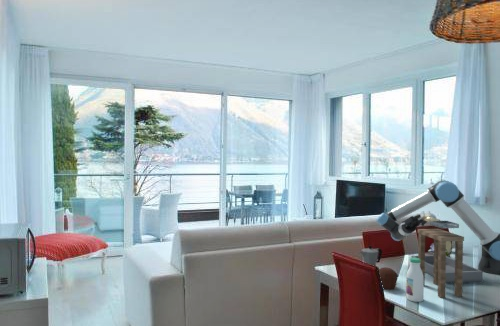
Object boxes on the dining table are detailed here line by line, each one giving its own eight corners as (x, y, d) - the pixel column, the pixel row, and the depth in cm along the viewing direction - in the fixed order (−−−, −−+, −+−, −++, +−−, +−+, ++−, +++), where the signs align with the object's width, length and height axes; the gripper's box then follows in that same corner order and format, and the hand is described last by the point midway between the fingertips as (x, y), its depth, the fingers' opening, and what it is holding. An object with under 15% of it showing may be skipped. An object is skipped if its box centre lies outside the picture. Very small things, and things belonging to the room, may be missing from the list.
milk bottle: (422, 297, 190) (423, 257, 190) (424, 303, 183) (424, 261, 183) (405, 295, 193) (406, 255, 192) (406, 301, 186) (407, 259, 185)
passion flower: (436, 264, 266) (425, 250, 267) (436, 258, 275) (426, 244, 277) (451, 257, 261) (440, 242, 262) (451, 251, 270) (440, 236, 271)
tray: (411, 265, 245) (411, 255, 245) (443, 264, 248) (443, 254, 248) (445, 283, 211) (445, 272, 210) (482, 282, 213) (482, 271, 213)
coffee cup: (454, 253, 276) (454, 236, 275) (440, 252, 277) (440, 236, 277) (450, 250, 285) (450, 233, 284) (436, 249, 287) (436, 233, 286)
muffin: (370, 284, 209) (370, 266, 209) (387, 282, 213) (387, 264, 212) (385, 292, 198) (385, 272, 197) (402, 289, 202) (403, 270, 201)
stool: (417, 283, 210) (417, 229, 210) (437, 283, 212) (438, 228, 211) (440, 298, 189) (441, 237, 189) (463, 297, 191) (464, 236, 190)
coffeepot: (365, 280, 216) (366, 248, 216) (355, 275, 225) (355, 244, 225) (387, 276, 222) (387, 245, 222) (376, 272, 231) (376, 242, 231)
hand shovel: (410, 218, 219) (410, 213, 219) (425, 218, 220) (425, 213, 220) (441, 228, 190) (442, 222, 190) (458, 228, 191) (458, 222, 191)
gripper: (421, 233, 231) (442, 219, 210) (396, 234, 229) (415, 220, 208) (417, 221, 234) (438, 206, 214) (393, 222, 232) (411, 207, 212)
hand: (426, 213), depth 211 cm, fingers closed on hand shovel, 3 cm apart
